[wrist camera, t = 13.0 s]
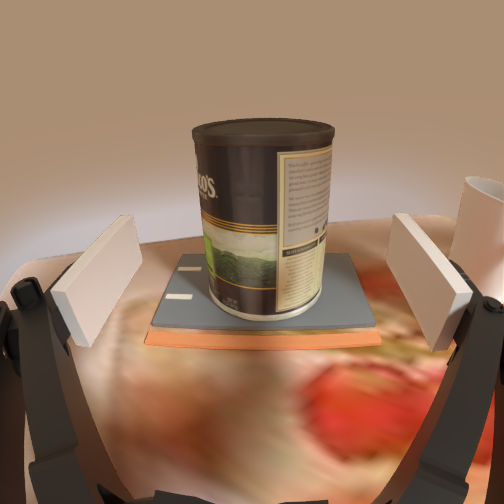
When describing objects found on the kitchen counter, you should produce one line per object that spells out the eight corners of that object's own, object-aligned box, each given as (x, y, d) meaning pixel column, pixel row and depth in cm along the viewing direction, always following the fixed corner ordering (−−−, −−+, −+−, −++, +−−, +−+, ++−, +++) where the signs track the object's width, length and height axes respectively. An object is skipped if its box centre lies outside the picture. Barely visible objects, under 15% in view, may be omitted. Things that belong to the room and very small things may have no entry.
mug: (421, 295, 26) (450, 171, 20) (473, 293, 25) (507, 181, 19) (457, 377, 17) (525, 227, 11) (516, 365, 16) (579, 234, 10)
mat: (347, 256, 32) (348, 252, 32) (374, 326, 23) (376, 321, 23) (182, 257, 33) (182, 253, 33) (153, 326, 24) (151, 321, 24)
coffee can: (210, 329, 23) (185, 138, 16) (208, 260, 32) (195, 122, 25) (339, 314, 24) (359, 133, 17) (305, 251, 33) (310, 117, 26)
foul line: (377, 334, 22) (378, 331, 22) (381, 344, 21) (382, 342, 21) (150, 333, 23) (149, 331, 23) (145, 344, 22) (144, 341, 22)
